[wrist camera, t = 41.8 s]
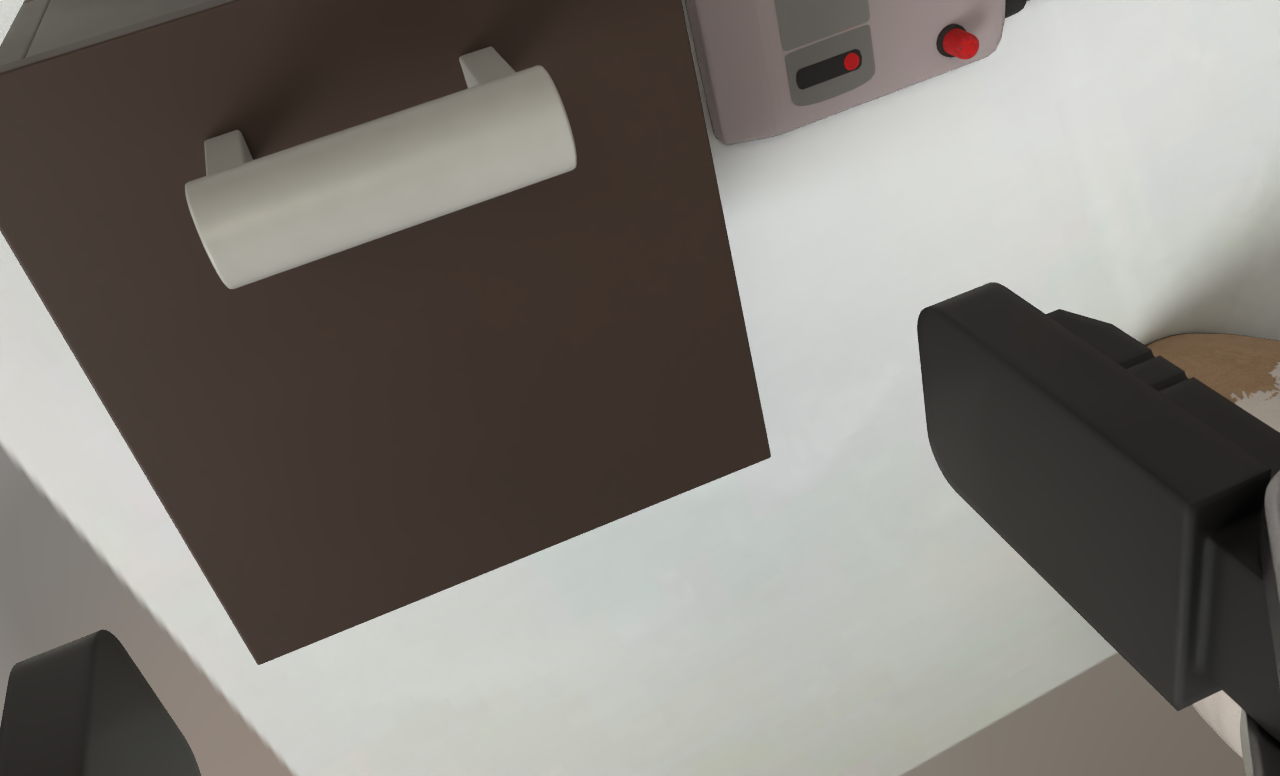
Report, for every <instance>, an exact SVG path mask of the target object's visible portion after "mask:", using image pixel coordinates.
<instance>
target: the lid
mask: <svg viewBox="0 0 1280 776" xmlns="http://www.w3.org/2000/svg"><path fill="white" fill-rule="evenodd" d="M0 231H1V232H2V234H3V236H4V238H5V239H6V241H7V243H8V244H9V246H10V248H11V249H12V251H13V253H14V254H15V256H16V258H17V259H18V261H19V263H20V265H21V266H22V268H23V270H24V271H25V273H26V275H27V276H28V278H29V280H30V281H31V283H32V285H33V286H34V288H35V290H36V292H37V293H38V295H39V297H40V298H41V300H42V302H43V303H44V305H45V307H46V308H47V310H48V312H49V313H50V315H51V317H52V319H53V320H54V322H55V324H56V325H57V327H58V329H59V330H60V332H61V334H62V335H63V337H64V339H65V340H66V342H67V344H68V345H69V347H70V349H71V351H72V352H73V354H74V356H75V357H76V359H77V361H78V362H79V364H80V366H81V367H82V369H83V371H84V372H85V374H86V376H87V378H88V379H89V381H90V383H91V384H92V386H93V388H94V389H95V391H96V393H97V394H98V396H99V398H100V399H101V401H102V403H103V405H104V406H105V408H106V410H107V411H108V413H109V415H110V416H111V418H112V420H113V421H114V423H115V425H116V426H117V428H118V430H119V432H120V433H121V435H122V437H123V438H124V440H125V442H126V443H127V445H128V447H129V448H130V450H131V452H132V453H133V455H134V457H135V459H136V460H137V462H138V464H139V465H140V467H141V469H142V470H143V472H144V474H145V475H146V477H147V479H148V480H149V482H150V484H151V486H152V487H153V489H154V491H155V492H156V494H157V496H158V497H159V499H160V501H161V502H162V504H163V506H164V507H165V509H166V511H167V513H168V514H169V516H170V518H171V519H172V521H173V523H174V524H175V526H176V528H177V529H178V531H179V533H180V534H181V536H182V538H183V540H184V541H185V543H186V545H187V546H188V548H189V550H190V551H191V553H192V555H193V556H194V558H195V560H196V561H197V563H198V565H199V566H200V568H201V570H202V572H203V573H204V575H205V577H206V578H207V580H208V582H209V583H210V585H211V587H212V588H213V590H214V592H215V593H216V595H217V597H218V599H219V600H220V602H221V604H222V605H223V607H224V609H225V610H226V612H227V614H228V615H229V617H230V619H231V620H232V622H233V624H234V626H235V627H236V629H237V631H238V632H239V634H240V636H241V637H242V639H243V641H244V642H245V644H246V646H247V647H248V649H249V651H250V653H251V654H252V656H253V658H254V659H255V661H256V663H257V664H258V665H260V664H263V663H265V662H268V661H270V660H273V659H275V658H277V657H280V656H282V655H285V654H287V653H290V652H292V651H295V650H297V649H300V648H302V647H305V646H307V645H310V644H312V643H314V642H317V641H319V640H322V639H324V638H327V637H329V636H332V635H334V634H337V633H339V632H342V631H344V630H346V629H349V628H351V627H354V626H356V625H359V624H361V623H364V622H366V621H369V620H371V619H374V618H376V617H378V616H381V615H383V614H386V613H388V612H391V611H393V610H396V609H398V608H401V607H403V606H406V605H408V604H411V603H413V602H415V601H418V600H420V599H423V598H425V597H428V596H430V595H433V594H435V593H438V592H440V591H443V590H445V589H447V588H450V587H452V586H455V585H457V584H460V583H462V582H465V581H467V580H470V579H472V578H475V577H477V576H480V575H482V574H484V573H487V572H489V571H492V570H494V569H497V568H499V567H502V566H504V565H507V564H509V563H512V562H514V561H516V560H519V559H521V558H524V557H526V556H529V555H531V554H534V553H536V552H539V551H541V550H544V549H546V548H548V547H551V546H553V545H556V544H558V543H561V542H563V541H566V540H568V539H571V538H573V537H576V536H578V535H581V534H583V533H585V532H588V531H590V530H593V529H595V528H598V527H600V526H603V525H605V524H608V523H610V522H613V521H615V520H617V519H620V518H622V517H625V516H627V515H630V514H632V513H635V512H637V511H640V510H642V509H645V508H647V507H649V506H652V505H654V504H657V503H659V502H662V501H664V500H667V499H669V498H672V497H674V496H677V495H679V494H682V493H684V492H686V491H689V490H691V489H694V488H696V487H699V486H701V485H704V484H706V483H709V482H711V481H714V480H716V479H718V478H721V477H723V476H726V475H728V474H731V473H733V472H736V471H738V470H741V469H743V468H746V467H748V466H750V465H753V464H755V463H758V462H760V461H763V460H765V459H768V458H770V457H771V454H770V449H769V444H768V439H767V433H766V428H765V423H764V418H763V413H762V408H761V403H760V398H759V393H758V388H757V383H756V378H755V372H754V367H753V362H752V357H751V352H750V347H749V342H748V337H747V332H746V327H745V322H744V317H743V312H742V306H741V301H740V296H739V291H738V286H737V281H736V276H735V271H734V266H733V261H732V256H731V251H730V245H729V240H728V235H727V230H726V225H725V220H724V215H723V210H722V205H721V200H720V195H719V190H718V184H717V179H716V174H715V169H714V164H713V159H712V154H711V149H710V144H709V139H708V134H707V129H706V124H705V118H704V113H703V108H702V103H701V98H700V93H699V88H698V83H697V78H696V73H695V68H694V63H693V57H692V52H691V47H690V42H689V37H688V32H687V27H686V22H685V17H684V12H683V7H682V2H681V0H211V1H207V2H204V3H201V4H198V5H194V6H191V7H188V8H185V9H182V10H178V11H175V12H172V13H169V14H165V15H162V16H159V17H156V18H152V19H149V20H146V21H143V22H139V23H136V24H133V25H130V26H127V27H123V28H120V29H117V30H114V31H110V32H107V33H104V34H101V35H97V36H94V37H91V38H88V39H85V40H81V41H78V42H75V43H72V44H68V45H65V46H62V47H59V48H55V49H52V50H49V51H46V52H43V53H39V54H36V55H33V56H30V57H26V58H23V59H20V60H17V61H13V62H10V63H7V64H4V65H1V66H0Z"/></svg>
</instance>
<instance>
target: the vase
mask: <svg viewBox="0 0 1280 776" xmlns="http://www.w3.org/2000/svg"><path fill="white" fill-rule="evenodd" d="M1146 347H1148V348H1149V349H1151V350H1152V353H1153V355H1154V356H1155V357H1157V356H1159V355H1160V356H1162V357H1163V358H1165V359H1166V360H1168V361H1170V362H1171V363H1173V364H1174V365H1176V366H1177V367H1179V368H1180V369H1182V370H1184V371H1185V374H1186V376H1187V378H1188V379H1190V378H1192V377H1194V378H1196V379H1197V380H1199V381H1201V382H1202V383H1204V384H1205V385H1207V386H1208V387H1210V388H1211V389H1213V390H1214V391H1216V392H1218V393H1219V394H1221V395H1222V396H1224V397H1225V398H1227V399H1228V400H1230V401H1231V402H1233V403H1235V404H1236V405H1238V406H1239V407H1241V408H1242V409H1244V410H1245V411H1247V412H1248V413H1250V414H1252V415H1253V416H1255V417H1256V418H1258V419H1259V420H1261V421H1262V422H1264V423H1266V424H1267V425H1269V426H1270V427H1272V428H1273V429H1275V430H1276V431H1278V432H1279V433H1280V341H1278V340H1271V339H1263V338H1255V337H1247V336H1240V335H1232V334H1207V333H1191V334H1181V335H1175V336H1170V337H1167V338H1164V339H1161V340H1158V341H1155V342H1153V343H1151V344H1149V345H1147V346H1146ZM1192 705H1193V707H1194V708H1195V709H1196V710H1197V711H1198V713H1199V714H1200V715H1201V716H1202V718H1203V719H1204V720H1205V721H1206V722H1207V723H1208V724H1209V725H1210V726H1211V727H1212V728H1213V729H1214V730H1215V731H1216V733H1217V734H1218V735H1220V737H1221V738H1222V739H1223V740H1224V741H1225V742H1226V743H1227V744H1228V745H1229V746H1230V747H1231V748H1232V749H1233V750H1234V751H1235V752H1236V753H1237V754H1239V755H1240V756H1241V757H1242V758H1243V756H1242V747H1241V738H1240V720H1241V710H1242V708H1241V707H1240V706H1239V705H1238V704H1237V703H1236V702H1235V701H1233V700H1232V699H1231V698H1230V697H1229V696H1228V695H1227V694H1226V693H1225V692H1224V691H1223V690H1221V691H1219V692H1217V693H1215V694H1213V695H1211V696H1208V697H1206V698H1204V699H1202V700H1200V701H1198V702H1196V703H1194V704H1192Z"/></svg>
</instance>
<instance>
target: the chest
mask: <svg viewBox="0 0 1280 776" xmlns="http://www.w3.org/2000/svg"><path fill="white" fill-rule="evenodd" d="M207 1H211V0H25V1H24V3H23V5H22V7H21V8H20V10H19V12H18V14H17V16H16V18H15V20H14V22H13V23H12V25H11V27H10V29H9V31H8V33H7V35H6V37H5V38H4V40H3V42H2V44H1V46H0V66H1V65H4V64H7V63H10V62H13V61H17V60H20V59H23V58H26V57H30V56H33V55H36V54H39V53H43V52H46V51H49V50H52V49H55V48H59V47H62V46H65V45H68V44H72V43H75V42H78V41H81V40H85V39H88V38H91V37H94V36H97V35H101V34H104V33H107V32H110V31H114V30H117V29H120V28H123V27H127V26H130V25H133V24H136V23H139V22H143V21H146V20H149V19H152V18H156V17H159V16H162V15H165V14H169V13H172V12H175V11H178V10H182V9H185V8H188V7H191V6H194V5H198V4H201V3H204V2H207Z"/></svg>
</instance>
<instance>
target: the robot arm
mask: <svg viewBox="0 0 1280 776" xmlns="http://www.w3.org/2000/svg"><path fill="white" fill-rule="evenodd" d="M917 331H918V342H919V352H920V362H921V372H922V382H923V392H924V402H925V412H926V422H927V431H928V438H929V442H930V446H931V449H932V452H933V454H934V457H935V459H936V462H937V464H938V466H939V468H940V470H941V472H942V473H943V475H944V477H945V478H946V480H947V481H948V483H949V484H950V485H951V487H952V488H953V489H954V490H955V491H956V492H957V493H958V494H959V495H960V496H961V497H962V498H963V499H964V500H965V501H966V502H967V503H968V504H969V505H970V506H971V507H972V508H973V509H974V510H975V511H976V512H977V513H978V514H979V515H980V516H981V517H982V518H983V519H984V520H985V521H986V522H987V523H988V524H989V525H990V526H991V527H992V528H993V529H994V530H995V531H996V532H997V533H998V534H999V535H1000V536H1001V537H1002V538H1003V539H1004V540H1005V541H1006V542H1007V543H1008V544H1009V545H1010V546H1011V547H1012V548H1013V549H1014V550H1015V551H1016V552H1017V553H1018V554H1019V555H1020V556H1021V557H1022V558H1023V559H1024V560H1025V561H1026V562H1027V563H1028V564H1029V565H1030V566H1031V567H1032V568H1034V569H1035V570H1036V571H1037V572H1038V573H1039V574H1040V575H1041V576H1042V577H1043V578H1044V579H1045V580H1046V581H1047V582H1048V583H1049V584H1050V585H1051V586H1052V587H1053V588H1054V589H1055V590H1056V591H1057V592H1058V593H1059V594H1060V595H1061V596H1062V597H1063V598H1064V599H1065V600H1066V601H1067V602H1068V603H1069V604H1070V605H1071V606H1072V607H1073V608H1074V609H1075V610H1076V611H1077V612H1078V613H1079V614H1080V615H1081V616H1082V617H1083V618H1084V619H1085V620H1086V621H1087V622H1088V623H1089V624H1090V625H1091V626H1092V627H1093V628H1094V629H1095V630H1096V631H1097V632H1098V633H1099V634H1100V635H1101V636H1102V637H1103V638H1104V639H1105V640H1106V641H1107V642H1108V643H1109V644H1110V645H1111V646H1112V647H1113V648H1114V649H1115V650H1116V651H1117V652H1118V653H1119V654H1120V655H1121V656H1122V657H1123V658H1124V659H1125V660H1127V661H1128V662H1129V663H1130V664H1131V665H1132V666H1133V667H1134V668H1135V669H1136V670H1137V671H1138V672H1139V673H1140V674H1141V675H1142V676H1143V677H1144V678H1145V679H1146V680H1147V681H1148V682H1149V683H1150V684H1151V685H1152V686H1153V687H1154V688H1155V689H1156V690H1157V691H1158V692H1159V693H1160V694H1161V695H1162V696H1163V697H1164V698H1165V699H1166V700H1167V701H1168V702H1169V703H1170V704H1171V705H1172V706H1173V707H1174V708H1175V709H1176V710H1177V711H1179V710H1181V709H1183V708H1185V707H1187V706H1190V705H1192V704H1194V703H1196V702H1198V701H1200V700H1202V699H1204V698H1206V697H1208V696H1211V695H1213V694H1215V693H1217V692H1219V691H1221V690H1223V691H1224V692H1225V693H1226V694H1227V695H1228V696H1229V697H1230V698H1231V699H1232V700H1233V701H1235V702H1236V703H1237V704H1238V705H1239V706H1240V707H1241V708H1242V710H1241V720H1240V738H1241V747H1242V756H1243V765H1244V772H1245V776H1280V433H1279V432H1278V431H1276V430H1275V429H1273V428H1272V427H1270V426H1269V425H1267V424H1266V423H1264V422H1262V421H1261V420H1259V419H1258V418H1256V417H1255V416H1253V415H1252V414H1250V413H1248V412H1247V411H1245V410H1244V409H1242V408H1241V407H1239V406H1238V405H1236V404H1235V403H1233V402H1231V401H1230V400H1228V399H1227V398H1225V397H1224V396H1222V395H1221V394H1219V393H1218V392H1216V391H1214V390H1213V389H1211V388H1210V387H1208V386H1207V385H1205V384H1204V383H1202V382H1201V381H1199V380H1197V379H1196V378H1194V377H1192V378H1190V379H1188V378H1187V376H1186V374H1185V371H1184V370H1182V369H1180V368H1179V367H1177V366H1176V365H1174V364H1173V363H1171V362H1170V361H1168V360H1166V359H1165V358H1163V357H1162V356H1160V355H1159V356H1157V357H1155V356H1154V355H1153V353H1152V350H1151V349H1149V348H1148V347H1146V346H1145V345H1143V344H1142V343H1140V342H1139V341H1137V340H1136V339H1134V338H1132V337H1131V336H1129V335H1128V334H1126V333H1125V332H1123V331H1122V330H1120V329H1119V328H1117V327H1115V326H1114V325H1112V324H1109V323H1106V322H1102V321H1099V320H1095V319H1092V318H1088V317H1085V316H1081V315H1078V314H1074V313H1071V312H1067V311H1064V310H1061V309H1058V310H1056V311H1053V312H1051V313H1048V314H1044V313H1043V312H1041V311H1040V310H1038V309H1037V308H1036V307H1034V306H1033V305H1031V304H1030V303H1028V302H1027V301H1025V300H1024V299H1022V298H1021V297H1019V296H1018V295H1017V294H1015V293H1014V292H1012V291H1011V290H1009V289H1008V288H1006V287H1005V286H1003V285H1001V284H998V283H988V284H985V285H983V286H980V287H978V288H975V289H973V290H970V291H968V292H965V293H962V294H960V295H957V296H955V297H952V298H950V299H947V300H945V301H942V302H940V303H937V304H935V305H932V306H929V307H927V308H924V309H923V310H922V311H921V313H920V315H919V318H918V325H917ZM0 776H201V774H200V771H199V767H198V765H197V762H196V759H195V757H194V755H193V752H192V750H191V748H190V746H189V744H188V743H187V741H186V739H185V737H184V736H183V734H182V733H181V731H180V730H179V728H178V727H177V725H176V724H175V722H174V721H173V719H172V718H171V716H170V715H169V713H168V712H167V710H166V709H165V708H164V706H163V705H162V703H161V702H160V700H159V699H158V697H157V696H156V694H155V693H154V691H153V690H152V688H151V687H150V685H149V684H148V682H147V681H146V679H145V678H144V677H143V675H142V674H141V672H140V670H139V669H138V668H137V666H136V665H135V663H134V662H133V660H132V659H131V658H130V656H129V654H128V653H127V651H126V650H125V648H124V647H123V646H122V644H121V643H120V641H119V640H118V639H117V638H116V637H115V636H114V635H113V634H111V633H110V632H109V631H106V630H100V631H98V632H95V633H92V634H90V635H87V636H85V637H82V638H80V639H77V640H75V641H72V642H70V643H67V644H64V645H62V646H59V647H57V648H55V649H52V650H49V651H47V652H44V653H42V654H39V655H37V656H34V657H31V658H29V659H26V660H24V661H21V662H19V663H17V664H16V665H14V667H13V668H12V670H11V672H10V676H9V681H8V686H7V692H6V698H5V704H4V710H3V716H2V722H1V727H0Z"/></svg>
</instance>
